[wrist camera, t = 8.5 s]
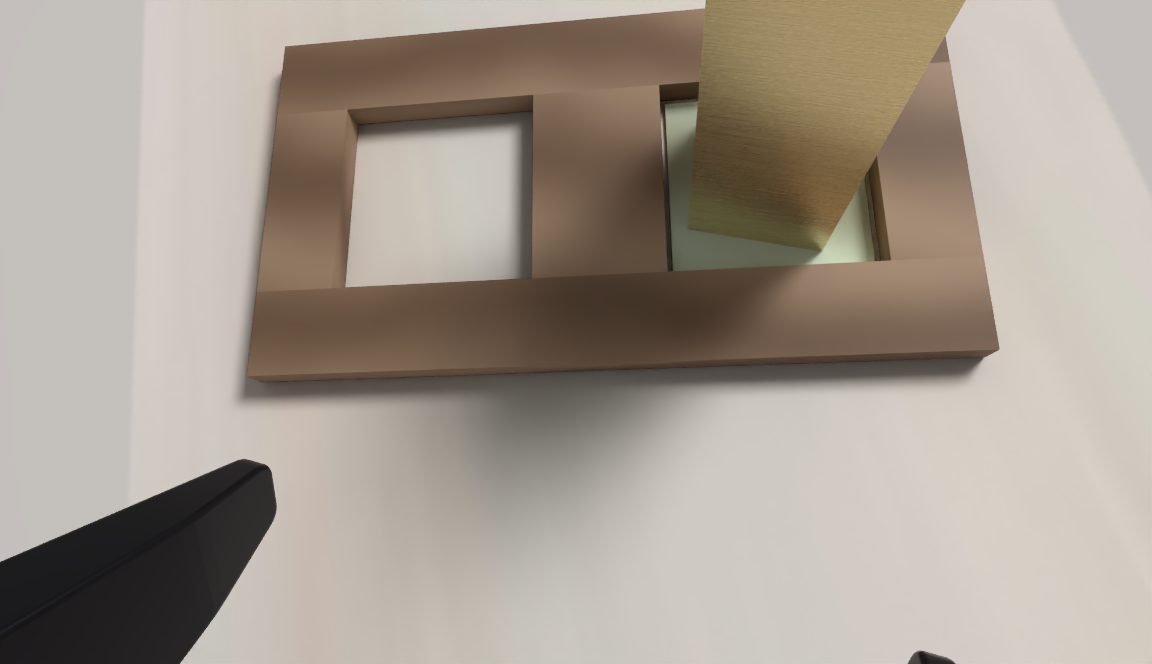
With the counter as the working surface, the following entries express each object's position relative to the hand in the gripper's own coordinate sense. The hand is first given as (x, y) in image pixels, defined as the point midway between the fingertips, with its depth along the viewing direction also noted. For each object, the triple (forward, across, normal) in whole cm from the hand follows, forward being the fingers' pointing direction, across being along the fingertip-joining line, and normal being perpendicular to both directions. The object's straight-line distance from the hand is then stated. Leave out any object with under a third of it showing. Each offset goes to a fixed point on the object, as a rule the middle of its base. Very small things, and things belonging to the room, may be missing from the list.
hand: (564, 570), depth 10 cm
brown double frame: (+17, +4, +1) cm, 18 cm away
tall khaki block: (+18, -2, 0) cm, 18 cm away
